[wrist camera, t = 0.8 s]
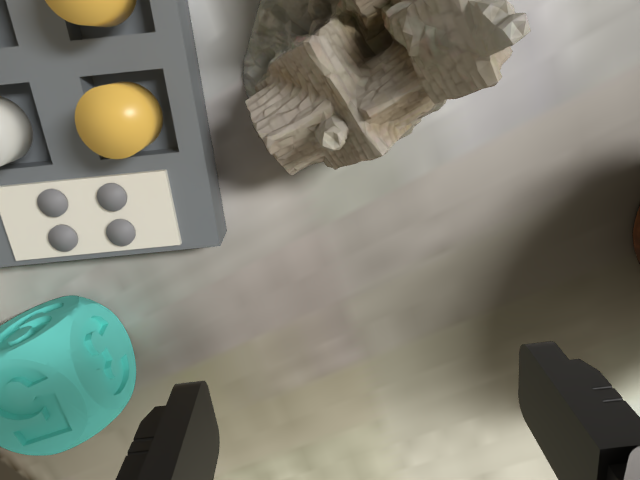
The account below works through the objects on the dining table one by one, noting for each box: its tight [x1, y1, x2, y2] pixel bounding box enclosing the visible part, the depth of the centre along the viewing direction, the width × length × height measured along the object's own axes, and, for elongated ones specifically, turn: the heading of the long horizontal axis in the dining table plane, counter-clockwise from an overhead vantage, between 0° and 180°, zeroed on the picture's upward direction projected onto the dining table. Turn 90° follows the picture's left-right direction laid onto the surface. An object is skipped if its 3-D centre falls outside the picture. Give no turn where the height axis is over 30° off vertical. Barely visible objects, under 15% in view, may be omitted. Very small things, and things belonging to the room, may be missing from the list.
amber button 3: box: [75, 82, 163, 159], centre depth 30 cm, size 4×4×3 cm
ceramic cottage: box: [243, 0, 531, 175], centre depth 26 cm, size 16×16×15 cm
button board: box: [0, 0, 227, 267], centre depth 32 cm, size 20×16×4 cm
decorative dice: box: [0, 296, 136, 455], centre depth 36 cm, size 8×8×8 cm
